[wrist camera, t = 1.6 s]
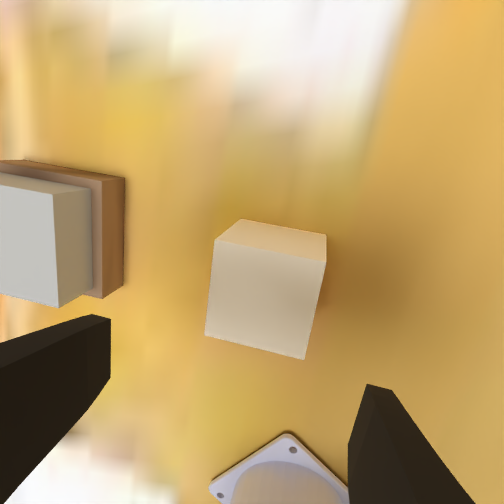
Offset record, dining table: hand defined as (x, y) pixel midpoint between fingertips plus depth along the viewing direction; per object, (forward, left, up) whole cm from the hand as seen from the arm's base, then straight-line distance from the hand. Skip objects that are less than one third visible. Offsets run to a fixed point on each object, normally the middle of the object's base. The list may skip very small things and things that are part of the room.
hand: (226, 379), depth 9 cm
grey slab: (+10, +7, -7) cm, 14 cm away
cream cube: (0, 0, -10) cm, 10 cm away
